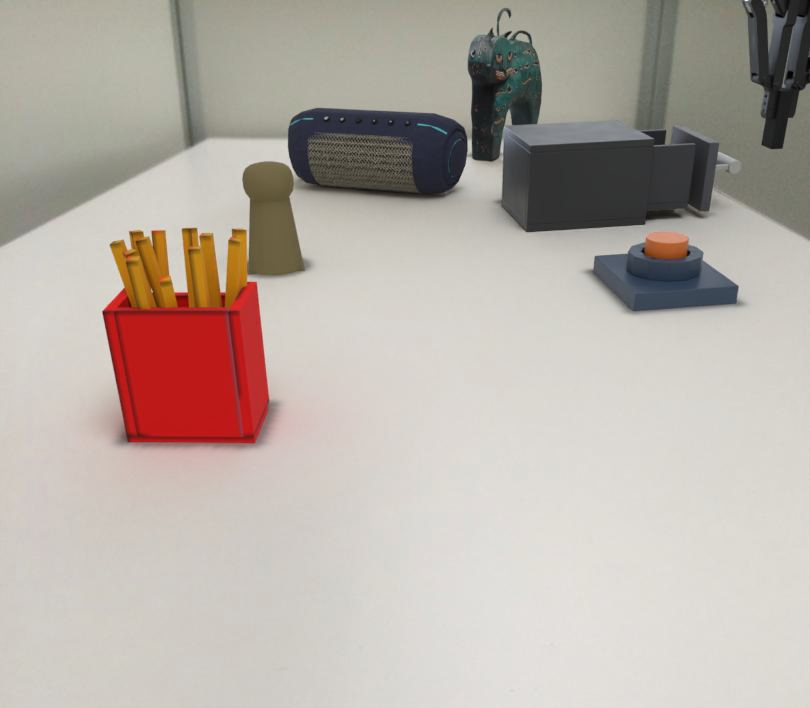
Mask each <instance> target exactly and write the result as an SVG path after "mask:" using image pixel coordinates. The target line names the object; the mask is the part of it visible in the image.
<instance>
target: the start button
mask: <svg viewBox="0 0 810 708" xmlns="http://www.w3.org/2000/svg"><path fill="white" fill-rule="evenodd" d="M644 242H645V250H644V254H645V255H647V256H650V257H654V258H664V259H675V258H683V257H686V256H687V250H688V245H689V242H690V237H689V236H688V235H686V234H684V233H680V232H676V231H653V232H650V233H647V234H646V236H645V241H644Z"/></svg>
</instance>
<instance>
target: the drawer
mask: <svg viewBox="0 0 810 708" xmlns="http://www.w3.org/2000/svg"><path fill="white" fill-rule="evenodd" d="M637 130H638V131H640V132H642V133H644V134H646V135H648V136H650V137H652V138H654V139H655V141H654V149H653V158H652V167H651V176H650V185H649V194H648V203H647V212H651V211H668V210H683V209H688V208H689V206H691V207H693V208H694V209H695V210H697V211H699V212H710V210H711V203H712V197H713V191H714V182H715V175H716V172H718V171H719V172H720V171H724V172H726V173H729V174H730V175H737V174H738V173H740V171H741V170H742V163H741V161H740V160H738V159H736V158H733V157H731V156H730V155H727V154H725V153H723V152H721V151H719V149H720V142H719V141H716V140H715V139H712V138H711V137H710V138H709V137H708V136H707V135H704V134H702V133H699V132H697V131H695V130H692V129H690V128H688V127H685V126H684V125H679V124H678V125H677V124H676V125H672V129H671V137H670V143H669V144H666V139H667V129H665V128H655V129H637Z"/></svg>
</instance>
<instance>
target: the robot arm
mask: <svg viewBox="0 0 810 708" xmlns="http://www.w3.org/2000/svg"><path fill="white" fill-rule="evenodd" d="M769 2H770V4H771V6H772V8H773V14H772V18H771V19H772V20H771V21H772V25H773V26H772V31H771V37H770V43H769V31H768V30H769V29H768V13H767V10H766V8H767V7H768V5H769ZM741 3H742V6H743V8H744V11H745V13H746V16H747V31H748V32H747V34H748V54H749V75H750V77H749V78H750V82H752V83H754V84H757V85H759V86H760V87H761V86H762V87H763V96H762V102H761V108H760V117H761V118H762V119H764V126H763V131H762V132H763V133H762V138H761V145H760V146H763V147H765V148H767V149H769V150H782V149H783V148H784V144H785V138H786V133H787V127H788V121H789V119H793V118H794V117H795V115H796V112H797V107H798V101H799V96H800V92H801V91H803V90H804V89H806V87H807V85H809V84H810V0H769V1H768V0H741ZM783 85H784V87H783Z"/></svg>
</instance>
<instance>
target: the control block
mask: <svg viewBox="0 0 810 708" xmlns="http://www.w3.org/2000/svg"><path fill="white" fill-rule="evenodd" d="M644 250H645V241H644V242H640V243H638V244H634V245H631V246H630V248H629V249H628V251H627V253H617V254H616V253H615V254H601V255H600V254H599V255H594V259H593V270H592V273H593V274H594V275H595V276H596V277H597V278H598V279H599V280H600V281H601V282H602V283H604V285H605V286H606V287H608V288H609V289H610V291H612V292H613V293H614V294H615V295H616V296H617V297H618V298H619V299H620V301H622V302H623V303H624V304H625V305H626V306H627V307H628V308H629V309H630V310H631V311H632V312H643V311H645V312H647V311H657V310H659V311H661V310H671V309H672V310H673V309H684V308H697V307H712V306H724V305H725V306H726V305H736V304H737V301H738V294H739V288H740V286H739V284H737V283H735V282H734V281H732V280H731V279H730V278H729V277H727V276H725V275H724V274H723V273H722V272H720V271H718V270H717V269H716V268H714V267H713V266H712V265H710V264H709V263H707V262H706V261H705V260H704V250H701V249H700V248H698V247H697V246H695V245H691V244H688V250H687V256H686V257H683V258H675V259H664V258H654V257H650V256H647V255H645V254H644Z"/></svg>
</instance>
